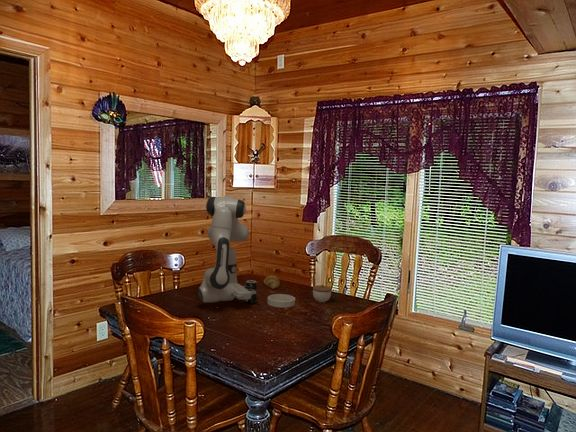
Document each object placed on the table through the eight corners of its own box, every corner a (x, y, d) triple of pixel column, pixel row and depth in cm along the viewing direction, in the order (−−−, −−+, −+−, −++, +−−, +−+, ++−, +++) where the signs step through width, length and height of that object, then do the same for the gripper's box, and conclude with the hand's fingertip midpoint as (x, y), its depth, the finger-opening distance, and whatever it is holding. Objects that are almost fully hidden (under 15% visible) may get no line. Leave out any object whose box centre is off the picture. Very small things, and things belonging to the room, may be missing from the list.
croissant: (278, 295, 260) (284, 284, 260) (264, 288, 258) (270, 277, 258) (273, 285, 281) (279, 275, 281) (260, 278, 279) (266, 268, 279)
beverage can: (250, 300, 236) (251, 279, 235) (259, 302, 231) (260, 281, 230) (241, 302, 230) (242, 281, 229) (250, 305, 226) (251, 283, 225)
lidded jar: (324, 305, 233) (325, 288, 232) (308, 300, 239) (309, 284, 238) (334, 301, 241) (335, 285, 240) (318, 297, 248) (319, 281, 247)
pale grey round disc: (262, 303, 231) (262, 298, 230) (278, 297, 243) (278, 292, 242) (284, 309, 222) (284, 303, 222) (300, 303, 234) (300, 297, 234)
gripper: (235, 291, 215) (260, 289, 221) (222, 281, 233) (245, 280, 239) (235, 303, 215) (260, 300, 222) (222, 293, 233) (245, 290, 240)
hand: (252, 289), depth 231 cm, fingers closed on beverage can, 7 cm apart
